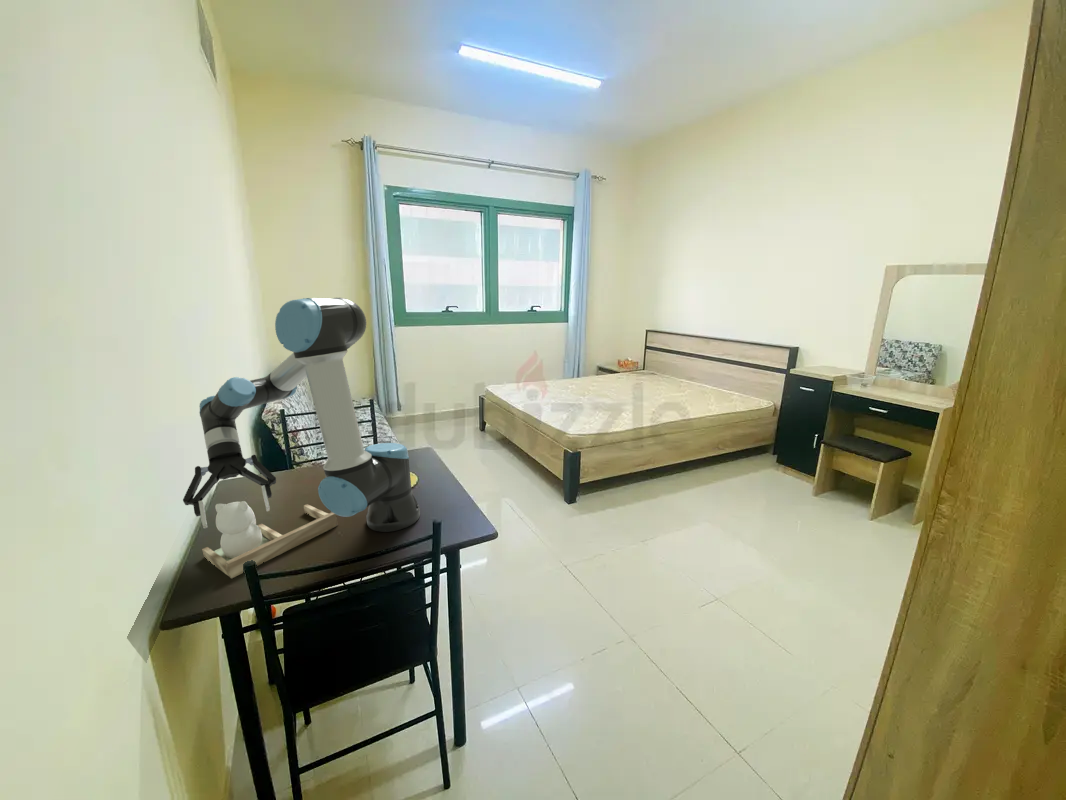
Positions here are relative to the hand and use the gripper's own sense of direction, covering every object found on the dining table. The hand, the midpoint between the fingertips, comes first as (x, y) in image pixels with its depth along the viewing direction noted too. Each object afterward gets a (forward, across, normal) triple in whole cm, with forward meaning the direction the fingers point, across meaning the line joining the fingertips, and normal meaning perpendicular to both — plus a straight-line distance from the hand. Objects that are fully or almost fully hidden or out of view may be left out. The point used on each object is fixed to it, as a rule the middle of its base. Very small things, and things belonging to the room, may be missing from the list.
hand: (237, 517), depth 109 cm
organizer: (+7, -7, -7) cm, 12 cm away
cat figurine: (+7, 0, -6) cm, 9 cm away
